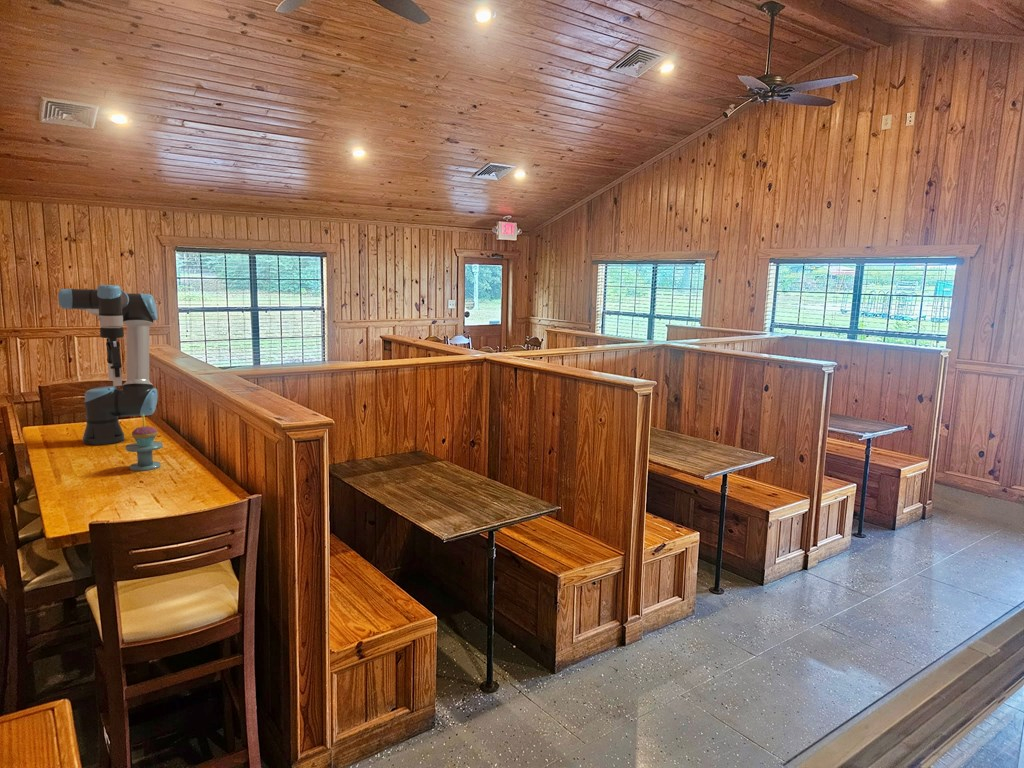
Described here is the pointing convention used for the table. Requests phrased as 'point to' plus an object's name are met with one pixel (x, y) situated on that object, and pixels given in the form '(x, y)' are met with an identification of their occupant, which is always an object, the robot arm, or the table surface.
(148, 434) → the cupcake
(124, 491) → the table surface
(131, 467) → the cake stand
